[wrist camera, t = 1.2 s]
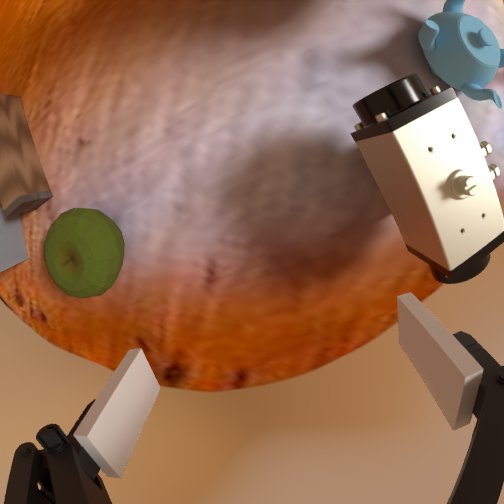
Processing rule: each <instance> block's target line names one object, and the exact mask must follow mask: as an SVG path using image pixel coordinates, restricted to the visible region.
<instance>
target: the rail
mask: <svg viewBox="0 0 504 504" xmlns="http://www.w3.org/2000/svg"><path fill="white" fill-rule="evenodd" d="M51 197H53V195H52V193H51V190H50V188H49V185H48V182H47V180H46V177H45V174H44V172H43V169H42V166H41V163H40V161H39V158H38V155H37V152H36V149H35V146H34V143H33V139H32V136H31V133H30V130H29V126H28V123H27V119H26V116H25V112H24V108H23V105H22V101H21V97H17V96H12V95H6V94H0V203H1V205H2V208H3V211H4V214H5V216H6V217H9V216H13V215H17V214H20V213H24V212H28V211H32V210H35V209H37V208H39V207H40V206H41V205H42V204H44V203H45V202H46V201H47V200H49V199H50V198H51Z"/></svg>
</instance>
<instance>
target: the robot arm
mask: <svg viewBox="0 0 504 504" xmlns="http://www.w3.org/2000/svg"><path fill="white" fill-rule="evenodd" d="M397 305H398V325H399V344H400V345H401V347H402V348H403V350H404V351H405V353H406V354H407V356H408V357H409V359H410V360H411V362H412V363H413V365H414V367H415V368H416V370H417V372H418V373H419V375H420V376H421V378H422V379H423V381H424V383H425V384H426V386H427V388H428V389H429V391H430V392H431V394H432V396H433V397H434V399H435V401H436V402H437V404H438V406H439V407H440V409H441V411H442V412H443V414H444V416H445V417H446V419H447V421H448V423H449V424H450V426H451V428H452V430H456V429H458V428H460V427H463V426H465V425H467V424H469V423H470V421H471V418H472V414H474V415H475V417H476V418H477V423H476V426H475V429H474V432H473V435H472V439H471V443H470V446H469V449H468V452H467V455H466V458H465V460H464V463H463V466H462V469H461V472H460V474H459V476H458V479H457V482H456V484H455V486H454V489H453V492H452V494H451V496H450V498H449V500H448V502H447V504H497V502H498V499H499V496H500V493H501V489H502V486H503V482H504V366H500V365H499V364H498V363H497V361H495V359H493V357H492V356H491V355H490V354H489V353H488V352H487V351H486V350H485V349H484V348H482V346H481V345H480V344H479V343H477V341H476V340H475V339H474V338H473V337H472V336H471V335H469V334H467V333H464V332H462V331H460V332H458V333H455V334H453V335H452V334H451V333H450V332H449V331H448V330H447V329H446V328H445V326H444V325H443V324H442V323H441V322H440V321H439V320H438V319H437V318H436V317H435V316H434V315H433V314H432V313H431V312H430V311H429V310H428V309H427V308H426V307H425V306H424V305H423V304H422V303H421V302H420V301H419V300H418V299H417V298H416V297H415V296H414V295H413V294H412V293H411V292H410V293H407V294H403V295H400V296H397ZM159 391H160V386H159V384H158V382H157V380H156V378H155V376H154V374H153V372H152V370H151V368H150V366H149V364H148V361H147V359H146V357H145V355H144V353H143V351H142V348H139V349H131V350H129V351H128V353H127V354H126V356H125V357H124V358H123V360H122V361H121V363H120V364H119V366H118V367H117V369H116V370H115V372H114V373H113V375H112V376H111V378H110V379H109V381H108V382H107V384H106V385H105V387H104V388H103V390H102V391H101V393H100V394H99V396H98V397H97V399H95V400H93V401H92V402H91V403H90V404H89V405H87V407H86V408H85V410H84V411H83V414H81V416H80V417H79V420H77V422H76V423H75V425H74V426H73V428H72V429H71V431H70V432H69V434H68V436H66V435H65V434H64V432H63V431H62V430H61V428H60V427H59V426H58V425H57V424H49V425H46V426H45V427H43V428H42V429H40V430H39V432H38V433H37V435H36V439H37V441H38V442H39V443H40V444H41V446H42V447H43V448H44V449H43V450H38V449H37V448H36V446H35V445H34V444H33V443H31V442H26V443H24V444H21V445H20V446H19V447H18V448H17V449H16V451H15V454H14V458H13V462H12V466H11V471H10V475H9V480H8V485H7V490H6V495H5V501H4V504H112V502H111V500H110V498H109V495H108V493H107V491H106V488H105V486H104V483H103V481H102V479H101V477H100V476H99V475H98V472H99V470H100V469H101V470H102V471H103V472H104V473H105V474H106V475H107V476H108V477H115V478H122V476H123V473H124V471H125V469H126V466H127V464H128V462H129V459H130V457H131V454H132V452H133V450H134V447H135V445H136V443H137V441H138V438H139V436H140V433H141V431H142V429H143V426H144V424H145V422H146V420H147V418H148V415H149V413H150V411H151V409H152V406H153V404H154V402H155V399H156V397H157V395H158V393H159ZM37 483H39V484H40V486H41V489H40V490H39V489H38V484H37Z"/></svg>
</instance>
